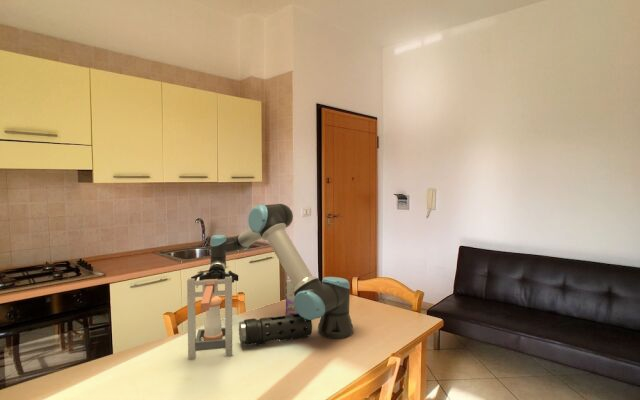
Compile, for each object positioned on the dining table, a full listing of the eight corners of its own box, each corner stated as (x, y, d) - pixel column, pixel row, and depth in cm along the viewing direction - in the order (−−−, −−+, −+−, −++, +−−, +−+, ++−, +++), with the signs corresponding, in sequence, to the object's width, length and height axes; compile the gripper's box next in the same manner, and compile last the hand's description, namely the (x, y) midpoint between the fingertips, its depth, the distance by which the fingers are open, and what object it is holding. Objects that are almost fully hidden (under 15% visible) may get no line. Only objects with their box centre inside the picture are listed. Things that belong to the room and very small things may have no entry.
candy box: (316, 312, 178) (316, 279, 177) (313, 317, 173) (313, 282, 172) (289, 310, 181) (289, 277, 180) (285, 314, 176) (285, 280, 175)
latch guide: (189, 356, 133) (188, 278, 131) (232, 352, 136) (231, 276, 135) (188, 359, 131) (187, 280, 129) (232, 355, 134) (231, 278, 132)
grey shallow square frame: (198, 336, 150) (198, 329, 150) (229, 334, 153) (229, 327, 153) (194, 350, 138) (194, 342, 138) (228, 347, 141) (228, 340, 140)
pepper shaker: (204, 347, 141) (204, 298, 139) (202, 339, 147) (202, 293, 146) (223, 344, 143) (223, 296, 142) (221, 336, 150) (220, 291, 149)
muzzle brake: (312, 341, 147) (312, 316, 146) (241, 352, 137) (241, 325, 137) (305, 332, 156) (305, 308, 155) (238, 341, 146) (238, 316, 145)
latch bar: (203, 293, 134) (203, 279, 134) (217, 292, 135) (217, 279, 135) (196, 315, 112) (196, 299, 112) (213, 314, 113) (213, 298, 113)
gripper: (243, 277, 178) (243, 291, 157) (189, 279, 172) (182, 294, 152) (243, 262, 177) (243, 274, 156) (189, 264, 172) (182, 276, 151)
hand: (213, 284), depth 154 cm, fingers open, 13 cm apart
